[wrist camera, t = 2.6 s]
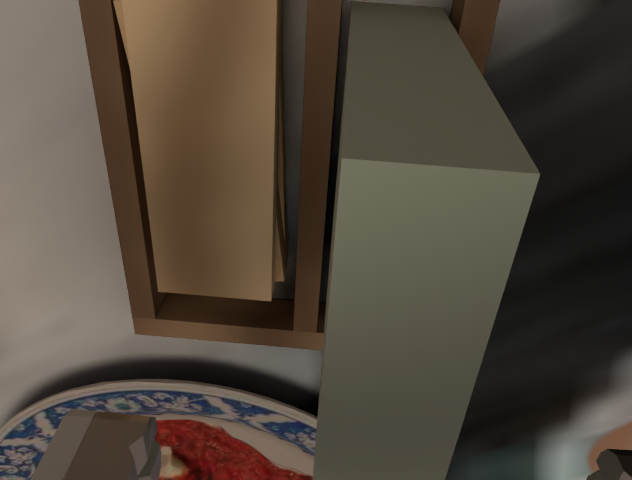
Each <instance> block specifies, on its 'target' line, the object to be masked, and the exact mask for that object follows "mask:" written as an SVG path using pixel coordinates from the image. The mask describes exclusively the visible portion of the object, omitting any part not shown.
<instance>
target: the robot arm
mask: <svg viewBox="0 0 632 480" xmlns="http://www.w3.org/2000/svg"><path fill="white" fill-rule="evenodd" d="M157 430H158V427H157V422H156V417H151V416H140V415H130V414H120V413H110V412H100V411H88V410H75V409H71V410H70V411H69V412H68V413H67V414H66V415H65V416H64V417H63V419H62V421H61V423H60V424H59V426H58V428H57V430H56V432H55V434H54V436H53V438H52V440H51V442H50V444H49V445H48V447H47V449H46V451H45V453H44V455H43V457H42V459H41V461H40V463H39V464H38V466H37V468H36V470H35V472H34V474H33V476H32V478H31V480H159V475H160V469H161V446H160V444H159V443H158V442H157V441H156V440H155V436H156V433H157ZM596 462H597V464H598V466H599V469H600V470H598V471H596V472H594V473H593V474H591V475H589V476H588V477H587V480H632V450H618V449H617V450H616V449H606V450H604V451H603V452H601V454H600V455H599V457H598V459H597V460H596Z"/></svg>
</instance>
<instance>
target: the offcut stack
mask: <svg viewBox="0 0 632 480" xmlns="http://www.w3.org/2000/svg"><path fill="white" fill-rule="evenodd" d="M113 2H114V6H115V11H116V15H117V19H118V23H119V27H120V31H121V35H122V39H123V43H124V47H125V51H126V55H127V59H128V63H129V67H130V72H131V80H132V88H133V96H134V103H135V111H136V119H137V127H138V135H139V143H140V151H141V159H142V167H143V175H144V183H145V190H146V198H147V206H148V214H149V222H150V230H151V238H152V246H153V254H154V262H155V270H156V277H157V285H158V292H168V293H179V294H191V295H202V296H214V297H226V298H237V299H249V300H261V301H271V300H272V295H273V290H274V285H275V281H284V279H285V274H286V268H287V261H288V243H287V204H286V166H285V127H284V89H283V50H282V12H281V5H282V0H113Z"/></svg>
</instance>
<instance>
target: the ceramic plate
mask: <svg viewBox="0 0 632 480" xmlns="http://www.w3.org/2000/svg"><path fill="white" fill-rule="evenodd" d="M71 409H75V410H88V411H100V412H110V413H120V414H130V415H140V416H151V417H156V422H157V427H158V430H157V433H156V436H155V440H156V441H157V442H158V443H159V444H160V446H161V469H160V475H159V480H313V470H314V456H315V443H316V430H317V417H316V416H314V415H312V414H310V413H307V412H305V411H303V410H301V409H298V408H296V407H294V406H291V405H289V404H286V403H283V402H280V401H277V400H274V399H272V398H269V397H265V396H262V395H258V394H255V393H251V392H248V391H244V390H240V389H235V388H231V387H226V386H221V385H215V384H208V383H201V382H194V381H184V380H171V379H132V380H119V381H106V382H100V383H95V384H91V385H86V386H81V387H77V388H72V389H69V390H66V391H63V392H60V393H57V394H54V395H51V396H49V397H46V398H44V399H42V400H40V401H38V402H35V403H33V404H32V405H30V406H28V407H27V408H25V409H24V410H22V411H20V412H19V413H18V414H16V415H15V416H14V417H13V418H11V419H10V420H9V421H8V422H7V423H6V424H5V425H4V426H3V427H2V428H1V429H0V480H31V478H32V476H33V474H34V472H35V470H36V468H37V466H38V464H39V463H40V461H41V459H42V457H43V455H44V453H45V451H46V449H47V447H48V445H49V444H50V442H51V440H52V438H53V436H54V434H55V432H56V430H57V428H58V426H59V424H60V423H61V421H62V419H63V417H64V416H65V415H66V414H67V413H68V412H69V411H70V410H71Z"/></svg>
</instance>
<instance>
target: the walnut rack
mask: <svg viewBox="0 0 632 480" xmlns="http://www.w3.org/2000/svg"><path fill="white" fill-rule="evenodd" d="M499 3H500V0H453V5H452V10H451V16H450V21H451V23H452V25H453V27H454V28H455V30H456V32H457V33H458V35H459V37H460V38H461V40H462V42H463V43H464V45H465V47H466V49H467V50H468V52H469V54H470V55H471V57H472V59H473V60H474V62H475V64H476V66H477V67H478V69H479V71H480V72H481V74H482V76H483V75H484V70H485V66H486V61H487V57H488V52H489V48H490V44H491V39H492V35H493V30H494V26H495V21H496V17H497V12H498V8H499ZM79 6H80V12H81V18H82V24H83V30H84V36H85V41H86V47H87V53H88V59H89V65H90V71H91V77H92V83H93V88H94V94H95V100H96V106H97V112H98V118H99V124H100V130H101V135H102V141H103V147H104V153H105V159H106V165H107V171H108V177H109V182H110V188H111V194H112V200H113V206H114V212H115V218H116V224H117V230H118V235H119V241H120V247H121V253H122V259H123V265H124V271H125V277H126V282H127V288H128V294H129V300H130V306H131V312H132V318H133V324H134V329H135V334H140V335H152V336H163V337H175V338H187V339H198V340H210V341H221V342H233V343H244V344H256V345H267V346H279V347H290V348H302V349H313V350H323V339H324V326H325V313H326V303H319V300H320V287H321V274H322V261H323V248H324V235H325V222H326V208H327V195H328V182H329V169H330V156H331V143H332V130H333V117H334V104H335V91H336V78H337V65H338V51H339V38H340V25H341V12H342V0H308V11H307V34H306V56H305V79H304V101H303V124H302V146H301V169H300V192H299V214H298V237H297V259H296V282H295V301H292V300H280V299H272V300H271V301H261V300H249V299H237V298H226V297H214V296H202V295H191V294H179V293H168V292H158V285H157V277H156V270H155V262H154V254H153V246H152V238H151V230H150V222H149V214H148V206H147V198H146V190H145V183H144V175H143V167H142V159H141V151H140V143H139V135H138V127H137V119H136V111H135V103H134V96H133V88H132V80H131V72H130V67H129V63H128V59H127V55H126V51H125V47H124V43H123V39H122V35H121V31H120V27H119V23H118V19H117V15H116V11H115V6H114V2H113V0H79Z"/></svg>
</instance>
